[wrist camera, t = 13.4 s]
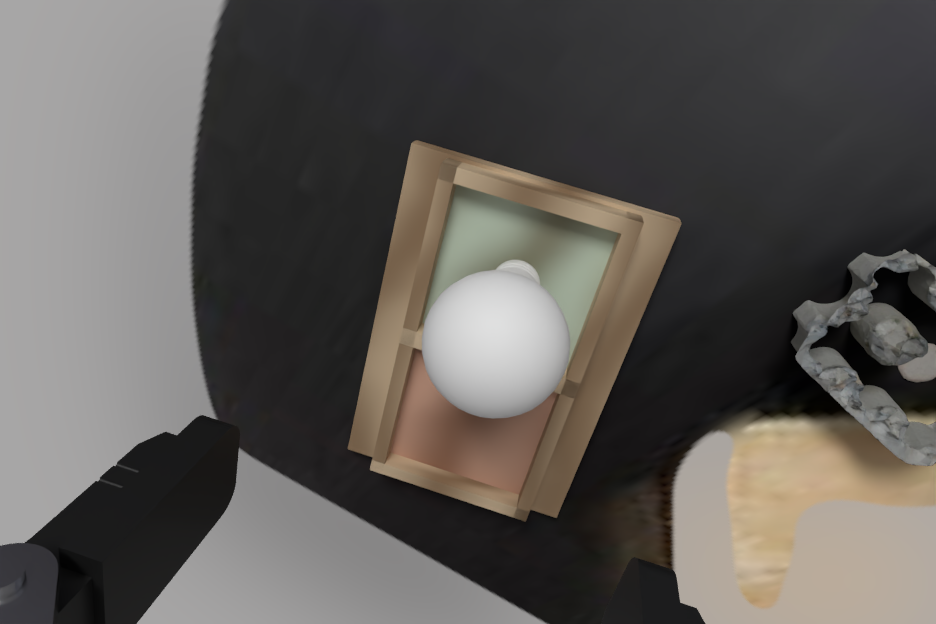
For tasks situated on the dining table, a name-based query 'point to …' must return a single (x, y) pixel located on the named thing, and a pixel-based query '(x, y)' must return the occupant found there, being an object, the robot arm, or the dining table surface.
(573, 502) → the dining table surface
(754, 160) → the dining table surface
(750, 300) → the dining table surface
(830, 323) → the egg carton
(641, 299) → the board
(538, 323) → the lightbulb
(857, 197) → the dining table surface
